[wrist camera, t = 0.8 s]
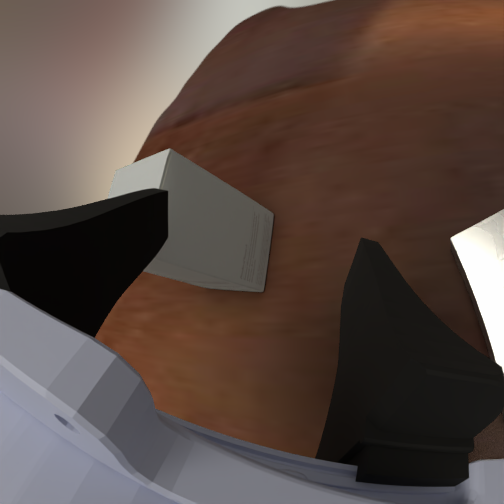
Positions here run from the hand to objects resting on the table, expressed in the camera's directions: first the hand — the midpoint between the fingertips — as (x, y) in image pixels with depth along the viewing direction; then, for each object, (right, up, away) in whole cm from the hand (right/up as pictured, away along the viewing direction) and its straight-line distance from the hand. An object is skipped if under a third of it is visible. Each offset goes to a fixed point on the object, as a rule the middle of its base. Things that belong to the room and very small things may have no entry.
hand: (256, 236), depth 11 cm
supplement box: (-1, -1, +19) cm, 19 cm away
